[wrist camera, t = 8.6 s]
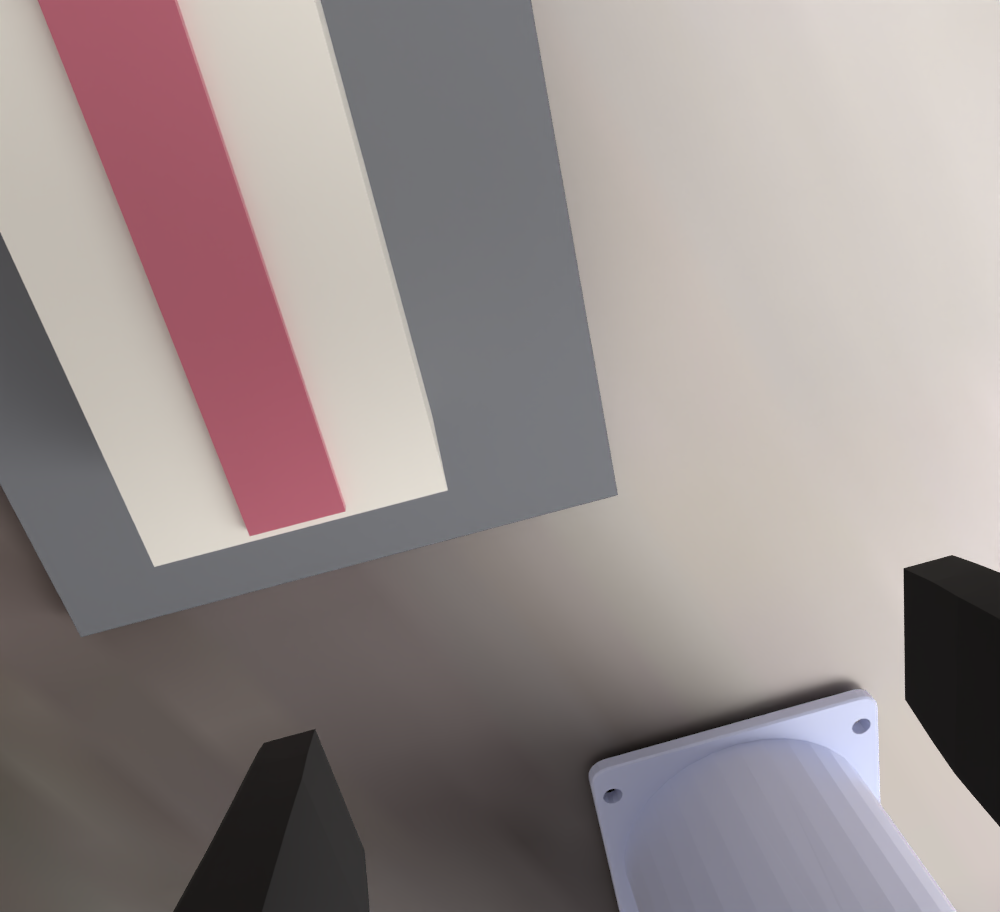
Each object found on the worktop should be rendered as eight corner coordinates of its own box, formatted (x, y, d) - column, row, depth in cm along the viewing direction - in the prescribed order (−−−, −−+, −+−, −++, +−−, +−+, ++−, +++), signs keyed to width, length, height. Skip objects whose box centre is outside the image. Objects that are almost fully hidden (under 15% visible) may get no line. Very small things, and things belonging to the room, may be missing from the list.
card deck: (295, -92, 14) (275, -145, 10) (432, 415, 18) (449, 495, 14) (-16, -21, 14) (-138, -52, 10) (192, 477, 17) (151, 573, 14)
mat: (608, 479, 20) (617, 494, 19) (91, 615, 19) (80, 637, 18) (471, -281, 14) (478, -300, 13) (-284, -114, 13) (-322, -126, 12)
